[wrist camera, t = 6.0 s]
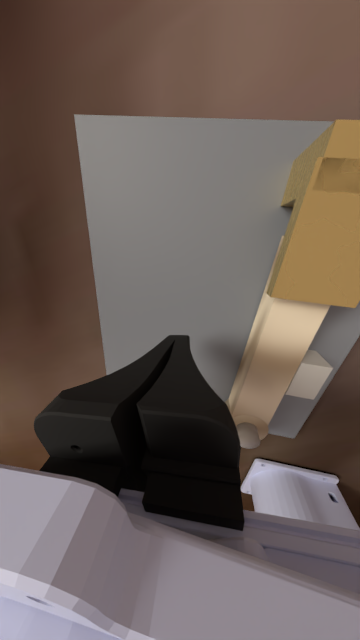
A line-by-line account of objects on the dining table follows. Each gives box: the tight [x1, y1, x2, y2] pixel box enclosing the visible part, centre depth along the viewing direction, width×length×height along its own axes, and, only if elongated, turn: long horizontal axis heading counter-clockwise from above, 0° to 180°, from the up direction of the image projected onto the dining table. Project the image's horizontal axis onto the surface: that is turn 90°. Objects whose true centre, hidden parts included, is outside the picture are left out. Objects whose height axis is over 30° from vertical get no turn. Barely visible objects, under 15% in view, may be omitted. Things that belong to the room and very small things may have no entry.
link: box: [225, 236, 331, 448], centre depth 12 cm, size 17×4×3 cm, turn 174°
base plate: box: [74, 115, 360, 438], centre depth 14 cm, size 20×23×1 cm
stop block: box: [285, 350, 333, 400], centre depth 13 cm, size 2×3×2 cm, turn 175°
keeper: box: [266, 120, 360, 308], centre depth 9 cm, size 4×6×3 cm, turn 175°
